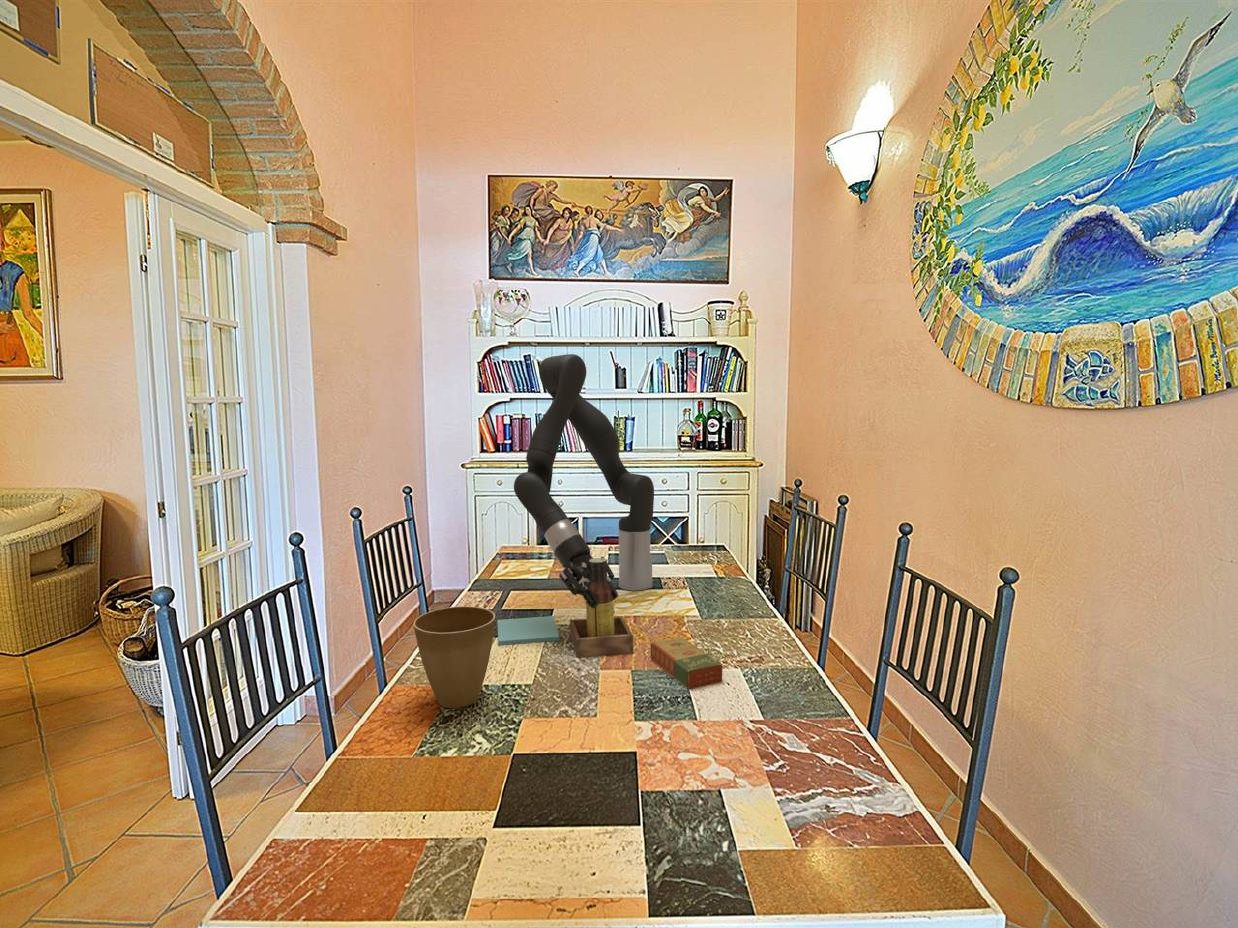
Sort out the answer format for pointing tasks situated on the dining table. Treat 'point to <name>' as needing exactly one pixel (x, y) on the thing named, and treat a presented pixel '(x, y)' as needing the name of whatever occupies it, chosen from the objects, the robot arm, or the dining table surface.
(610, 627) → the sauce bottle
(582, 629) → the frame
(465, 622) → the plant pot
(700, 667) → the carton
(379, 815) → the dining table surface
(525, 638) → the teal board
